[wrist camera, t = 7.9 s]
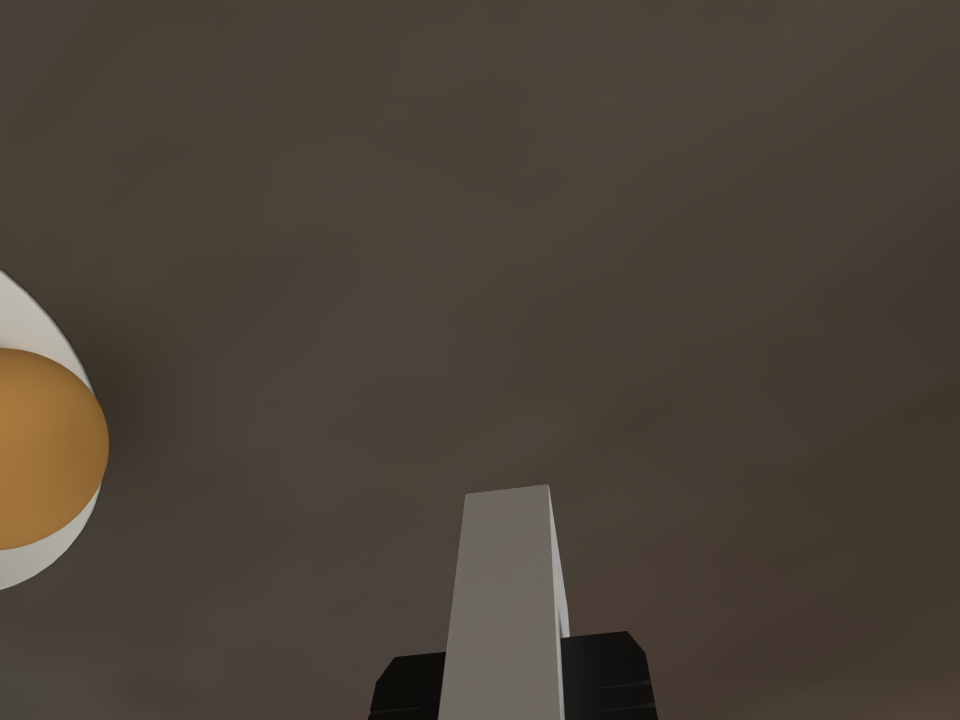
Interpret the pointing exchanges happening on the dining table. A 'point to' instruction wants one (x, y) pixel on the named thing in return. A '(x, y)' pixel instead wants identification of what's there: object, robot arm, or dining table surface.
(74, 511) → the ball
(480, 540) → the robot arm
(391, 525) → the dining table surface
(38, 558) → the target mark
